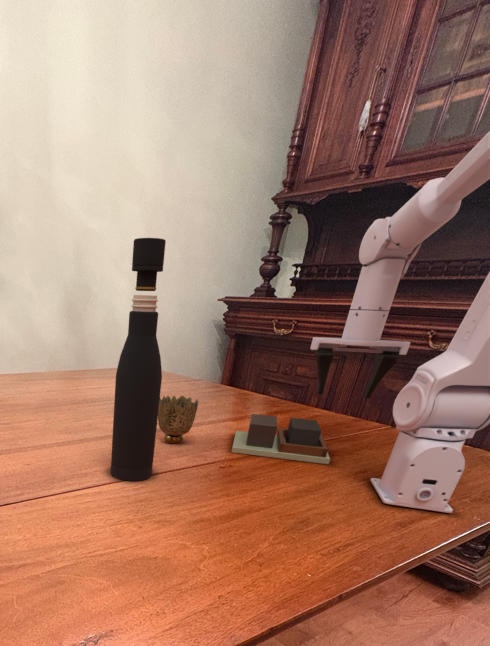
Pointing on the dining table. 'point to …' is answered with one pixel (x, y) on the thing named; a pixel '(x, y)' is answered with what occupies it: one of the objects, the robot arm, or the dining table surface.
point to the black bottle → (139, 372)
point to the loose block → (303, 432)
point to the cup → (176, 417)
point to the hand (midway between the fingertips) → (342, 395)
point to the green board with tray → (276, 442)
